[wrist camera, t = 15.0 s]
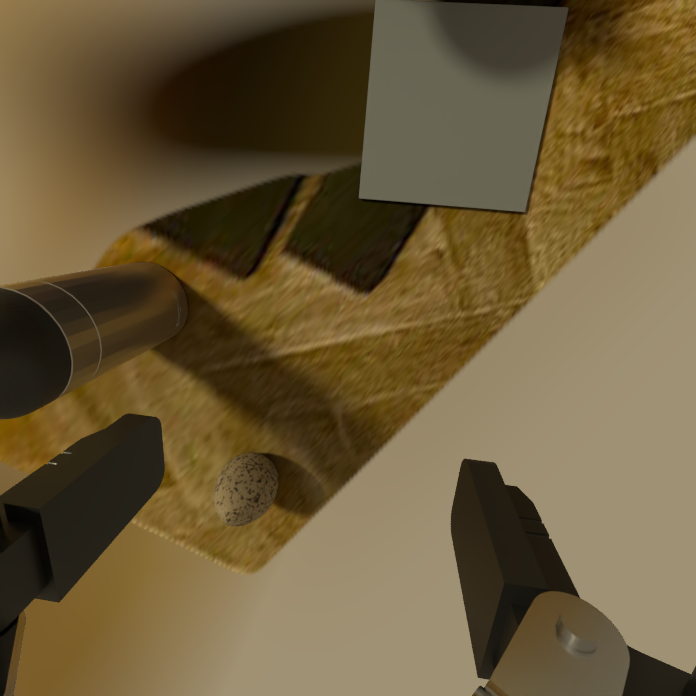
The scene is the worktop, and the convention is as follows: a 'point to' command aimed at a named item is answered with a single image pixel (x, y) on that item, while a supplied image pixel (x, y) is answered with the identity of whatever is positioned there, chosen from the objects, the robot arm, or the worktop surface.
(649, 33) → the worktop surface
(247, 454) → the decorative egg
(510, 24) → the mat
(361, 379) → the worktop surface
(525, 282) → the worktop surface
